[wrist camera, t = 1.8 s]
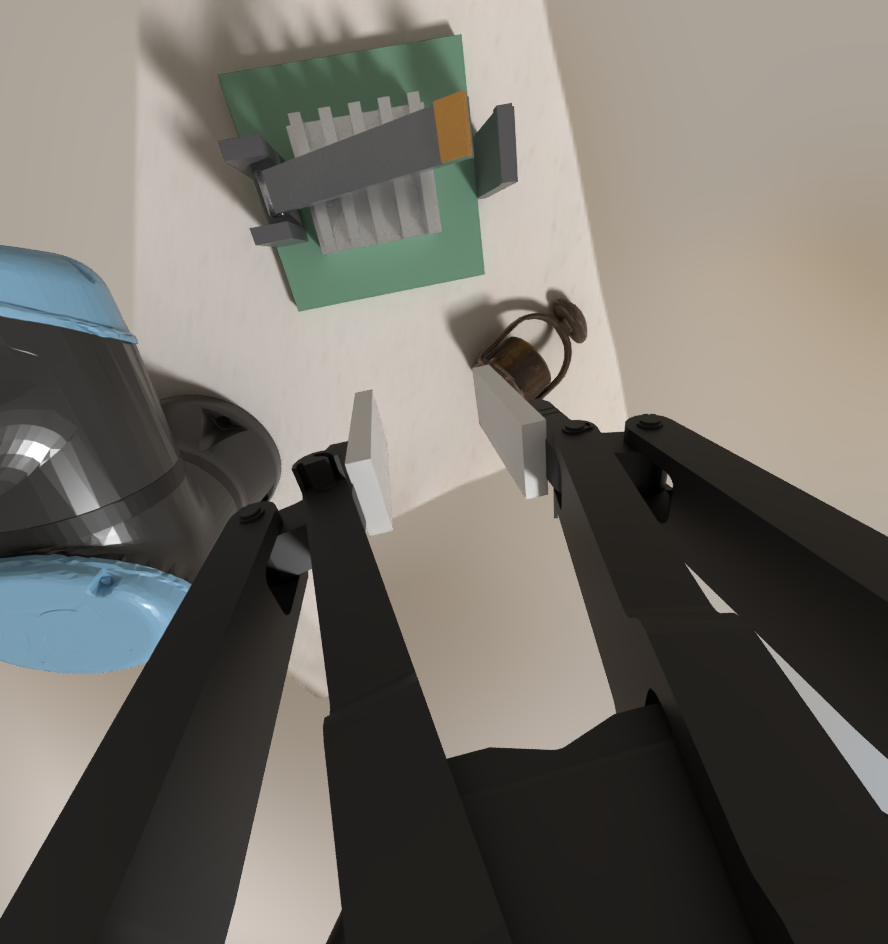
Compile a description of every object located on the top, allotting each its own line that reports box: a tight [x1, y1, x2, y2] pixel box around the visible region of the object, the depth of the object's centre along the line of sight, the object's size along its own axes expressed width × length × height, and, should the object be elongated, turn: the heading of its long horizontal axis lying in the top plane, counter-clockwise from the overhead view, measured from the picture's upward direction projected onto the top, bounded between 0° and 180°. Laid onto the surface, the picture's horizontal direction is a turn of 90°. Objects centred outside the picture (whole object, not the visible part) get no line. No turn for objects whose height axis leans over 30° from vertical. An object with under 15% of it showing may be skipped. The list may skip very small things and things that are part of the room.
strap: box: [255, 90, 474, 218], centre depth 23 cm, size 16×3×1 cm
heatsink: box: [286, 91, 442, 255], centre depth 29 cm, size 10×8×5 cm
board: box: [218, 34, 485, 311], centre depth 32 cm, size 18×16×1 cm
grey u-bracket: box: [218, 134, 309, 247], centre depth 28 cm, size 3×6×7 cm, turn 9°
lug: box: [472, 103, 518, 199], centre depth 29 cm, size 1×4×9 cm, turn 10°
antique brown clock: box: [472, 299, 587, 401], centre depth 39 cm, size 7×13×10 cm
